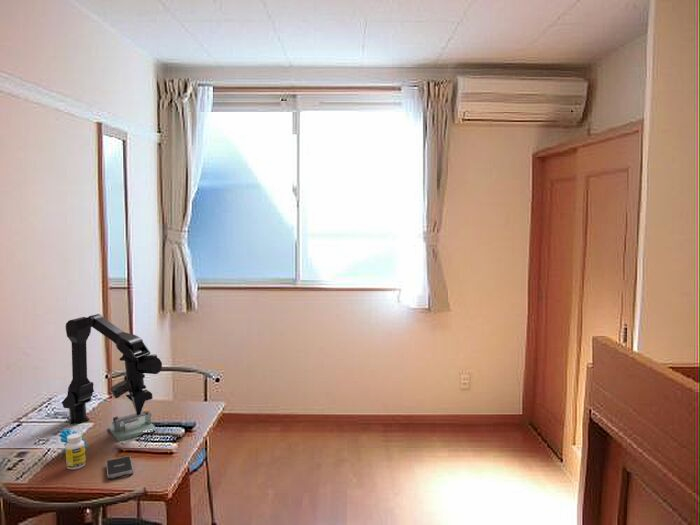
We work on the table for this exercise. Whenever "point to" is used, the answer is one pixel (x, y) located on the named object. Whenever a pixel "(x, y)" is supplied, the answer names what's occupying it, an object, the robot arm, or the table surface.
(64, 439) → the gear
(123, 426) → the heatsink
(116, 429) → the post
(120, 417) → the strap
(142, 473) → the table surface
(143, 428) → the board
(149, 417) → the post
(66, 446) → the supplement bottle
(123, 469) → the external hard drive
